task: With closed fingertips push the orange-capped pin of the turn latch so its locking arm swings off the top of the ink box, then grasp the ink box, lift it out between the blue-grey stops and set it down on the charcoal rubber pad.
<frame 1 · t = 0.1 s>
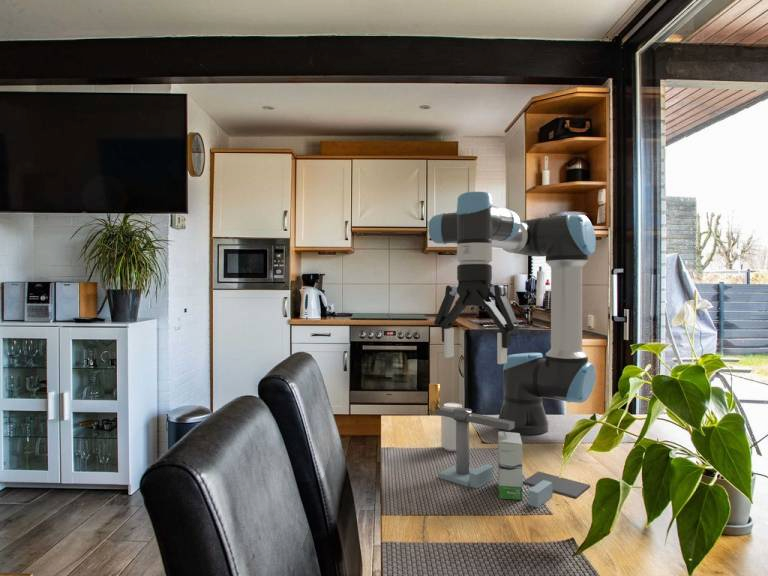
hand: (474, 360, 109), 28 cm above the table, fingers open, 13 cm apart
pad: (556, 484, 110), on the table
ink box: (509, 492, 107), on the table
turn latch: (468, 404, 114), point 17 cm above the table, hinge at 0.0°
beverage can: (452, 449, 135), on the table
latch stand: (462, 476, 115), on the table
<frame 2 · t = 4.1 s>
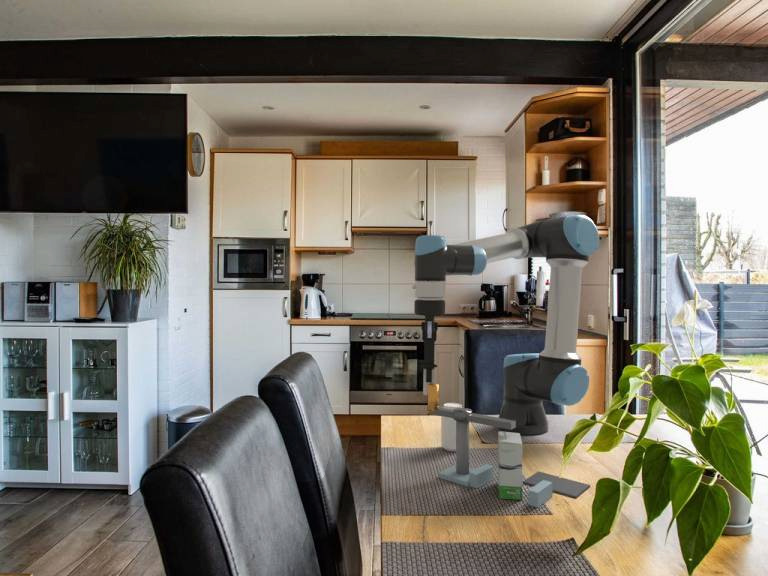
hand: (428, 394, 122), 18 cm above the table, fingers closed
turn latch: (468, 404, 114), point 17 cm above the table, hinge at 3.5°, touching gripper
everything else where it was.
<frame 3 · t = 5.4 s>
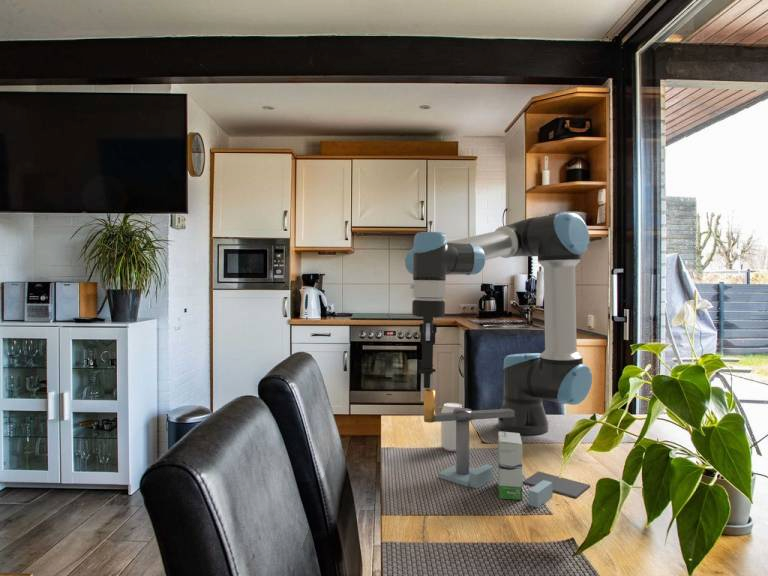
hand: (426, 400, 115), 18 cm above the table, fingers closed
turn latch: (469, 403, 115), point 17 cm above the table, hinge at 55.0°, touching gripper
everything else where it was.
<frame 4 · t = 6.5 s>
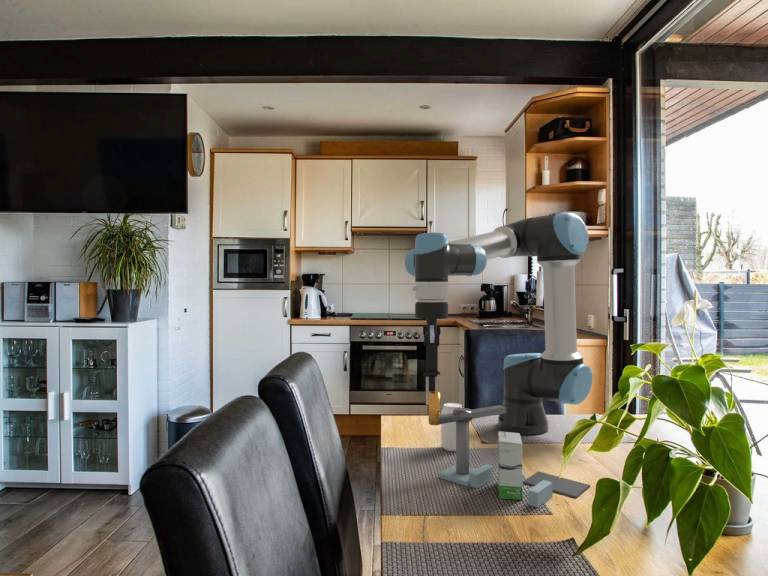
hand: (431, 404, 113), 17 cm above the table, fingers closed
turn latch: (467, 402, 116), point 17 cm above the table, hinge at 72.3°
everything else where it was.
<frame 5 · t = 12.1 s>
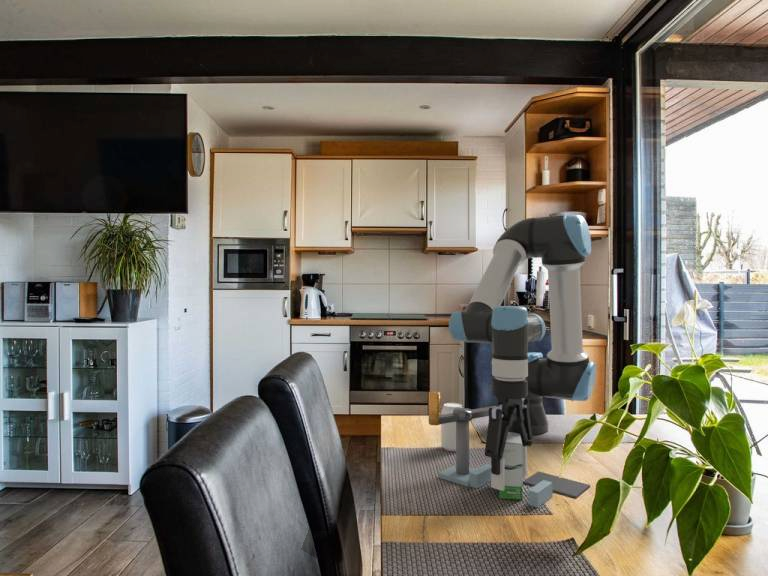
hand: (509, 481, 107), 2 cm above the table, fingers closed on ink box, 9 cm apart
ink box: (509, 492, 107), on the table, touching gripper
everything else where it was.
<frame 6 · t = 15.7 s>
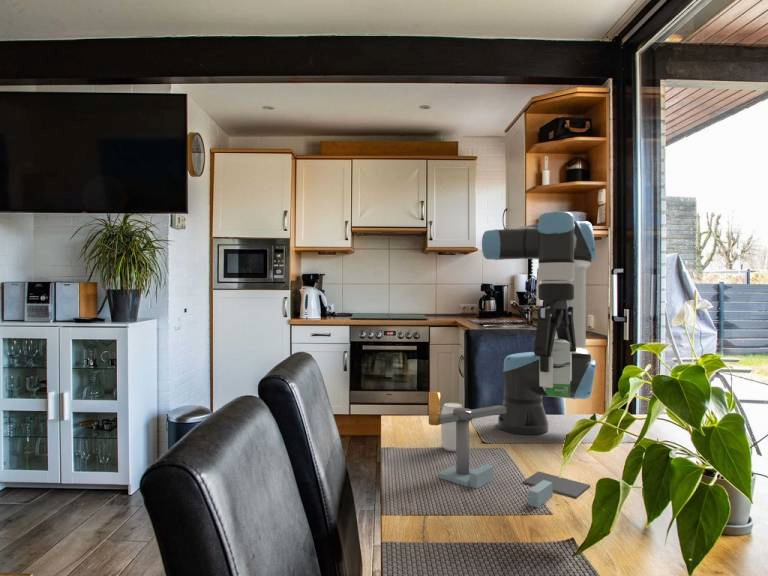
hand: (556, 383, 110), 23 cm above the table, fingers closed on ink box, 9 cm apart
ink box: (556, 393, 110), point 20 cm above the table, touching gripper
everything else where it was.
when the fingers open (4 cm above the table, at t = 19.4 s): ink box drops 1 cm, resting on pad.
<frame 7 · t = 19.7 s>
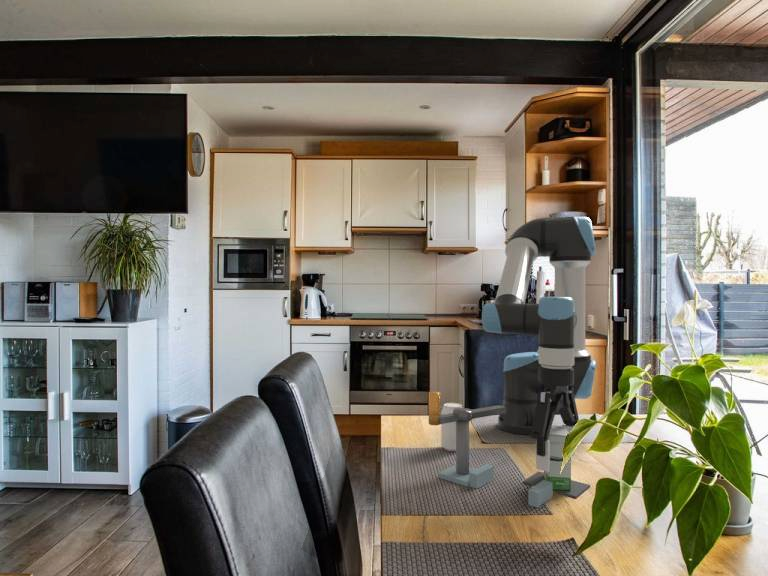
hand: (556, 461, 110), 5 cm above the table, fingers open, 13 cm apart
ink box: (556, 483, 111), resting on pad
everything else where it was.
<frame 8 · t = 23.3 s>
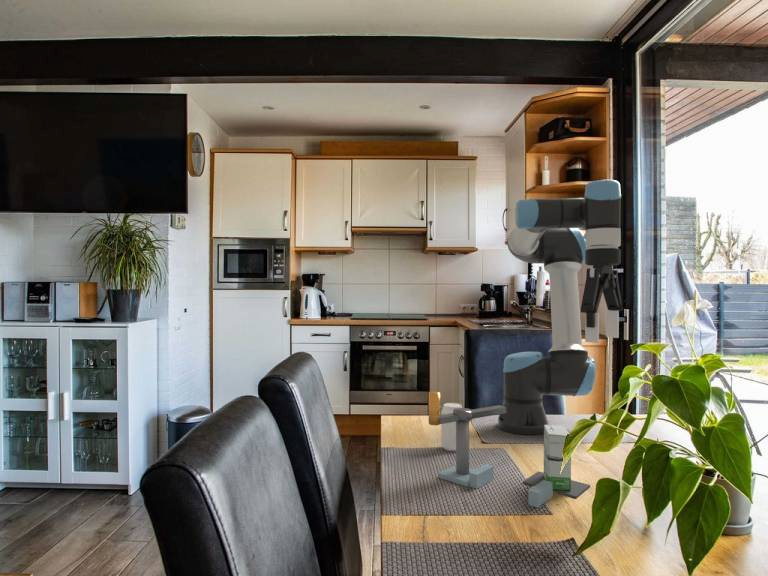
hand: (602, 339, 115), 32 cm above the table, fingers open, 13 cm apart
nothing on the table moved.
at the end: turn latch at +72° (first picture: +0°); ink box inside the target area on the pad (0.4 cm from its centre), point 0.2 cm above the pad's base; ink box tilted 0° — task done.
